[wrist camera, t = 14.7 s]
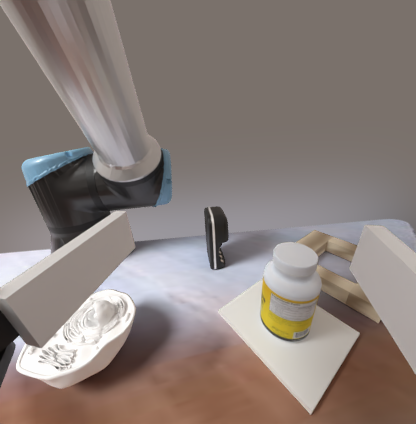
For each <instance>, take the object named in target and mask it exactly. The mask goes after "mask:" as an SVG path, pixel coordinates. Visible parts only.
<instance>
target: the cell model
mask: <svg viewBox="0 0 416 424" xmlns="http://www.w3.org/2000/svg"><path fill="white" fill-rule="evenodd" d="M135 313H136V306H135V304H134V302H133V300H132V299H131V297H130V296H129V295H128V294H126V293H123V292H119V291H117V290H113V289H108V290H103V291H99V292H96V293H93V294H92V295H91V296H90V297H89V298H88V299H87V300H86V301H85V302H84V303H83V304H82V306H81V307H80V308H79V309H78V310H77V311H76V312H75V313H74V314H73V315H72V316H71V317H70V318H69V320H68V321H67V322H66V323H65V324H64V325H63V326H62V327H61V328H60V329H59V330H58V331H57V332H56V334H55V335H54V336H53V337H52V338H51V339H50V340H49V341H48V342H47V343H46V344H45V345H44V346H43V348H38V347H34V346H30V345H27V344H25V345H24V347H23V349H22V351H21V353H20V355H19V358H18V360H17V364H16V369H17V371H18V372H20V373H22V374H24V375H27V376H31V377H34V378H37V379H39V380H42V381H44V382H45V383H47V384H49V385H50V386H53V387H56V388H59V389H63V388H67V387H70V386H72V385H74V384H76V383H78V382H80V381H82V380H84V379H86V378H88V377H90V376H92V375H93V374H96V373H97V372H99V371H101V370H103V369H104V368H105V367H107V366H108V365H109V364H110V362H111V361H112V360H113V359H114V357H115V356H116V354H117V353H118V352H119V350H120V349H121V347H122V346H123V344H124V343H125V341H126V339H127V337H128V335H129V333H130V330H131V327H132V324H133V320H134V317H135Z"/></svg>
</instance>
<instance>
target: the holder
mask: <svg viewBox="0 0 416 424" xmlns="http://www.w3.org/2000/svg"><path fill="white" fill-rule="evenodd" d="M296 243H300V244H303V245H305V246H307V247H309V248H311V249H312V250H313V251H314V252H315V253H316V254H317V256H318V257H319V256H320V255H321V254H322V253H323V252H325V251H327V252H330V253H332V254H334V255H337V256H339V257H341V258H344V259H346V260H348V261H351V262H352V259H353V256H354V254H355V251H356V248H357V245H354V244H352V243H349V242H346V241H343V240H341V239H338V238H335V237H332V236H330V235H327V234H324V233H321V232H319V231H316V230H314V231H312V232H311V233H309V234H308V235H306V236H305V237H303V238H302V239H300V240H299V241H297V242H296ZM316 271H317V272H318V274H319V276H320V278H321V283H322V287H321V290H322V291H324V292H325V293H327V294H329V295H330V296H332V297H334V298H336V299H337V300H339V301H341V302H342V303H344V304H346V305H348V306H349V307H351V308H353V309H354V310H356V311H358V312H360V313H361V314H363V315H365V316H366V317H368V318H370V319H372V320H373V321H375V322H377V323H378V324H379V322H380V320H381V319H380V317H379V315H378V314H377V312H376V311H375V309H374V307H373V306H372V304H371V303H370V301H369V299H368V298H367V296H366V295H365V293H364V291H363V290H362V288H361V287H360V285H359V284H358V282H357V283H356V284H355V283H353V282H351V281H349V280H347V279H345V278H343V277H341V276H339V275H337V274H335V273H333V272H331V271H329V270H327V269H325V268H323V267H321V266H319V265H317V269H316Z"/></svg>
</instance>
